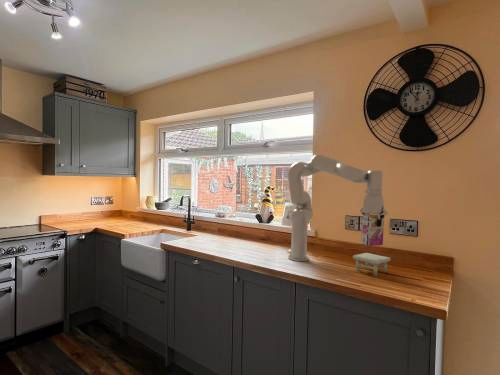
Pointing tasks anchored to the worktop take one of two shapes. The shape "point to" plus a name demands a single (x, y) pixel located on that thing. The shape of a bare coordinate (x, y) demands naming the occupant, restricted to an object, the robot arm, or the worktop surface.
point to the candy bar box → (371, 231)
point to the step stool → (371, 262)
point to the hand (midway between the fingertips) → (372, 225)
